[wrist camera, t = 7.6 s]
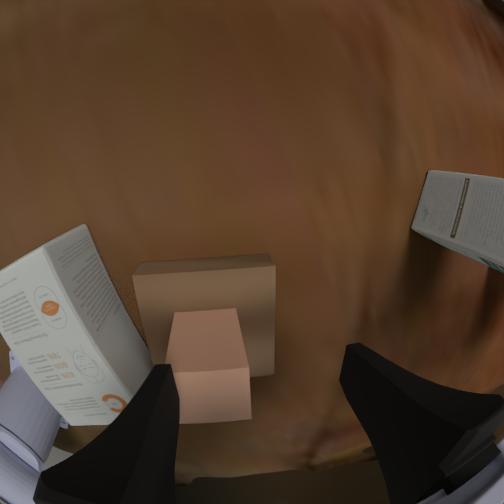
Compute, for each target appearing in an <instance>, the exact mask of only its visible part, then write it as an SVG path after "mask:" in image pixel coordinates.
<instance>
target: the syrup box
mask: <svg viewBox="0 0 504 504" xmlns="http://www.w3.org/2000/svg"><path fill="white" fill-rule="evenodd" d="M411 229H413V230H414V231H416V232H418V233H419V234H421V235H423V236H424V237H426V238H428V239H430V240H432V241H434V242H436V243H438V244H440V245H442V246H444V247H445V248H448V249H450V250H453V251H455V252H457V253H460V254H462V255H465V256H467V257H469V258H471V259H474V260H476V261H478V262H480V263H483V264H485V265H487V266H489V267H491V268H493V269H495V270H498V271H500V272H502V273H504V179H503V178H498V177H491V176H483V175H476V174H467V173H458V172H449V171H438V170H429V172H428V174H427V177H426V180H425V184H424V187H423V190H422V194H421V197H420V200H419V204H418V207H417V210H416V213H415V216H414V219H413V223H412V226H411Z"/></svg>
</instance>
